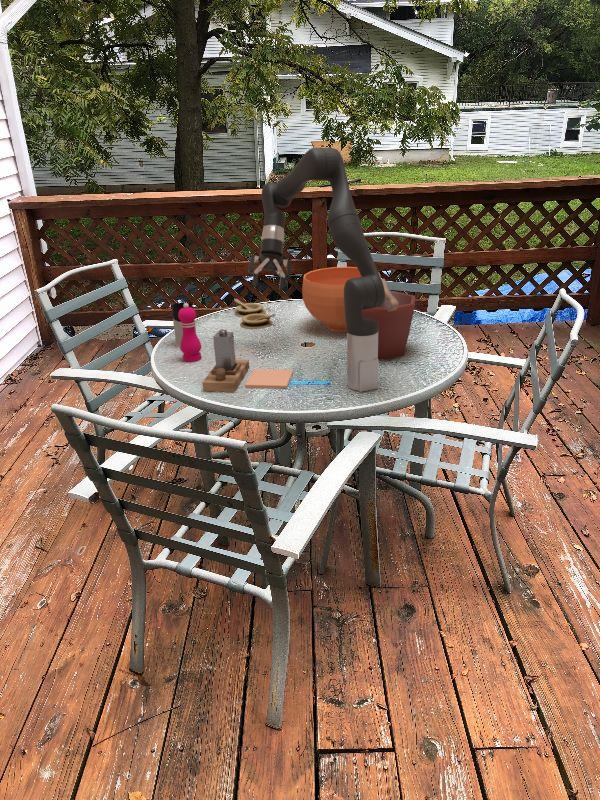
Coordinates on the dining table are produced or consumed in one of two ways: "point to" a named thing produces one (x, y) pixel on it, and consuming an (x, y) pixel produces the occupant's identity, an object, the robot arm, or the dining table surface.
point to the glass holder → (178, 321)
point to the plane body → (226, 377)
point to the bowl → (328, 295)
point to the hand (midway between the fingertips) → (268, 287)
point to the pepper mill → (189, 335)
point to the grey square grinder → (224, 350)
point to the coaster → (269, 378)
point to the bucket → (392, 322)
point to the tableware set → (253, 315)
